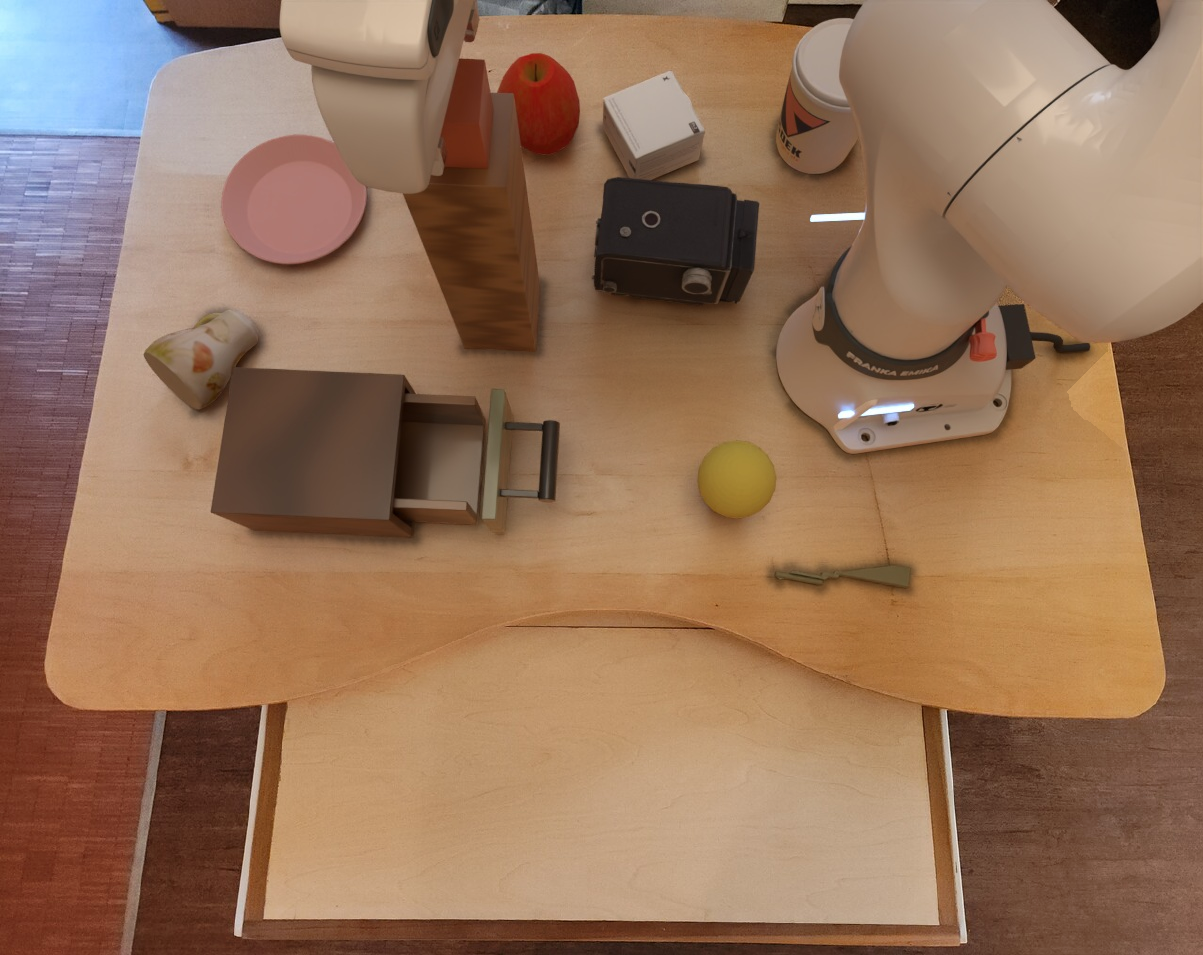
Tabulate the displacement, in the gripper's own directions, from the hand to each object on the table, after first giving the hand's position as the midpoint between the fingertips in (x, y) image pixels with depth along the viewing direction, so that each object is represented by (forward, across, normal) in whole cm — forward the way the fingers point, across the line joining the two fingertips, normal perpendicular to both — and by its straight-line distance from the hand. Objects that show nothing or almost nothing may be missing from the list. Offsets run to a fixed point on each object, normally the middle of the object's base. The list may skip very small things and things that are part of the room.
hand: (448, 96), depth 50 cm
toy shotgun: (+32, +20, +35) cm, 52 cm away
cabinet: (+32, +18, -12) cm, 38 cm away
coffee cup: (+32, -24, +28) cm, 49 cm away
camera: (+32, -7, +15) cm, 36 cm away
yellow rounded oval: (+32, +14, +24) cm, 42 cm away
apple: (+32, -20, 0) cm, 38 cm away
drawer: (+31, +17, -1) cm, 35 cm away
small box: (+32, -21, +11) cm, 40 cm away
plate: (+32, -8, -22) cm, 40 cm away
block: (+4, 0, 0) cm, 4 cm away
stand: (+32, 0, 0) cm, 32 cm away
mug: (+32, +10, -26) cm, 42 cm away
